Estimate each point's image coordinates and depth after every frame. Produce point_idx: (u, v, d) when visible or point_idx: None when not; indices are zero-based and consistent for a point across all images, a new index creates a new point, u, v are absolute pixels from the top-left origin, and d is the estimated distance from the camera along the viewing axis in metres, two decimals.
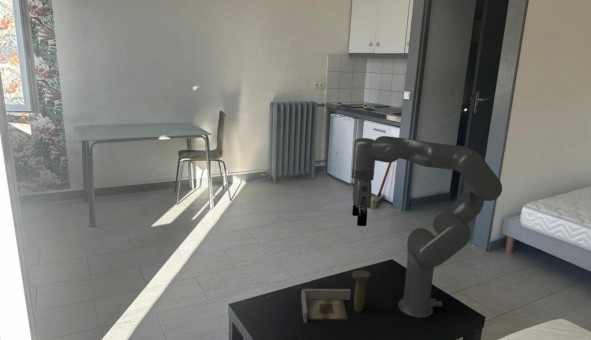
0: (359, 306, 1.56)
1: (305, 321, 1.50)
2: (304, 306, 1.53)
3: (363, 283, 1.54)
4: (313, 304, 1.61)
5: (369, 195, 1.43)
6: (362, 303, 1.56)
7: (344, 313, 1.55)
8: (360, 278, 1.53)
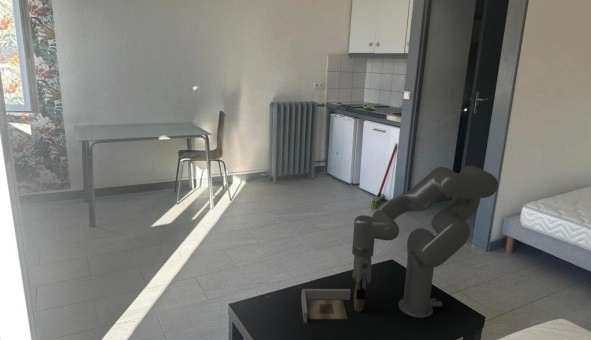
0: (359, 306, 1.56)
1: (305, 321, 1.50)
2: (304, 306, 1.53)
3: None
4: (313, 304, 1.61)
5: (369, 271, 1.49)
6: (362, 303, 1.56)
7: (344, 313, 1.55)
8: None
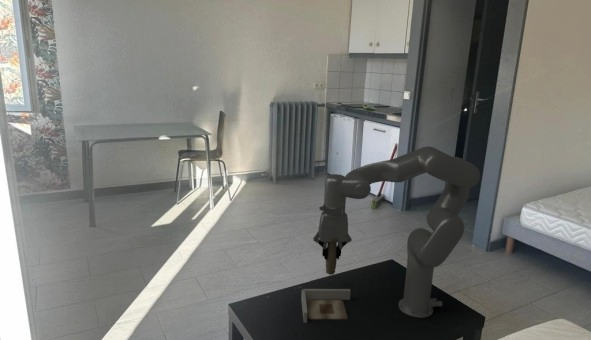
0: (326, 266, 1.54)
1: (305, 321, 1.50)
2: (304, 306, 1.53)
3: (328, 244, 1.51)
4: (313, 304, 1.61)
5: (320, 228, 1.48)
6: (326, 264, 1.52)
7: (344, 313, 1.55)
8: None
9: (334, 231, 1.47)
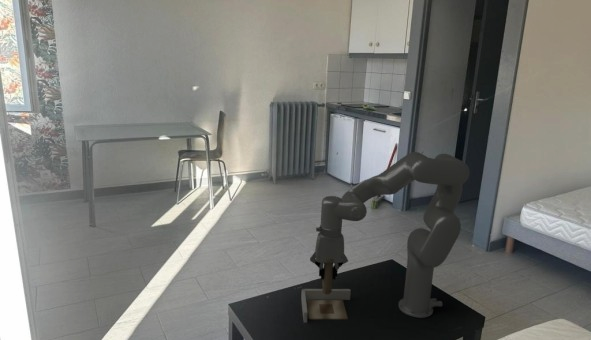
0: (322, 286, 1.56)
1: (305, 321, 1.50)
2: (304, 306, 1.53)
3: (325, 264, 1.53)
4: (313, 304, 1.61)
5: (316, 248, 1.50)
6: (323, 284, 1.54)
7: (344, 313, 1.55)
8: None
9: (330, 252, 1.49)
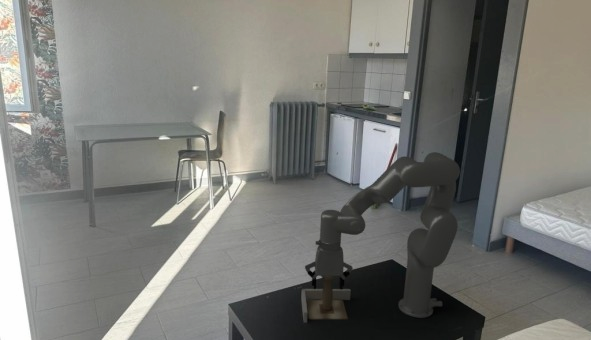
0: (322, 302, 1.57)
1: (305, 321, 1.50)
2: (304, 306, 1.53)
3: (324, 281, 1.54)
4: (313, 304, 1.61)
5: (316, 262, 1.51)
6: (323, 300, 1.56)
7: (344, 313, 1.55)
8: None
9: (329, 265, 1.51)
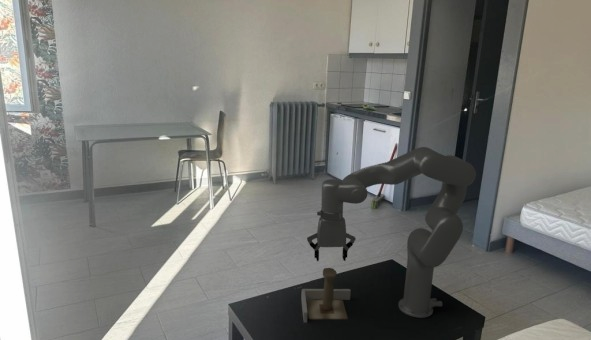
0: (323, 302, 1.57)
1: (305, 321, 1.50)
2: (304, 306, 1.53)
3: (325, 281, 1.54)
4: (313, 304, 1.61)
5: (318, 233, 1.48)
6: (323, 300, 1.56)
7: (344, 313, 1.55)
8: None
9: (331, 236, 1.48)
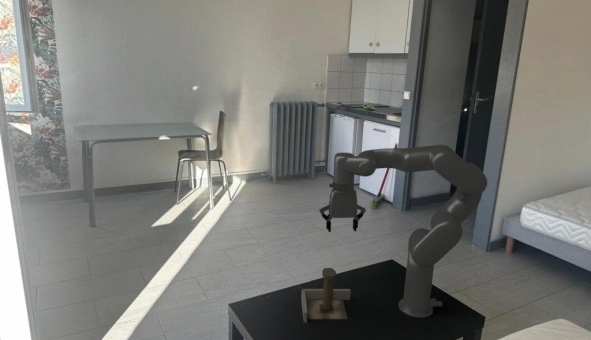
0: (323, 302, 1.57)
1: (305, 321, 1.50)
2: (304, 306, 1.53)
3: (325, 281, 1.54)
4: (313, 304, 1.61)
5: (330, 204, 1.54)
6: (323, 300, 1.56)
7: (344, 313, 1.55)
8: (322, 272, 1.55)
9: (343, 207, 1.54)
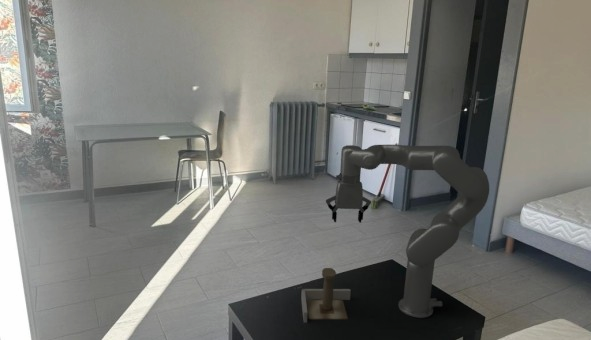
0: (323, 302, 1.57)
1: (305, 321, 1.50)
2: (304, 306, 1.53)
3: (325, 281, 1.54)
4: (313, 304, 1.61)
5: (336, 195, 1.59)
6: (323, 300, 1.56)
7: (344, 313, 1.55)
8: (322, 272, 1.55)
9: (349, 198, 1.58)
